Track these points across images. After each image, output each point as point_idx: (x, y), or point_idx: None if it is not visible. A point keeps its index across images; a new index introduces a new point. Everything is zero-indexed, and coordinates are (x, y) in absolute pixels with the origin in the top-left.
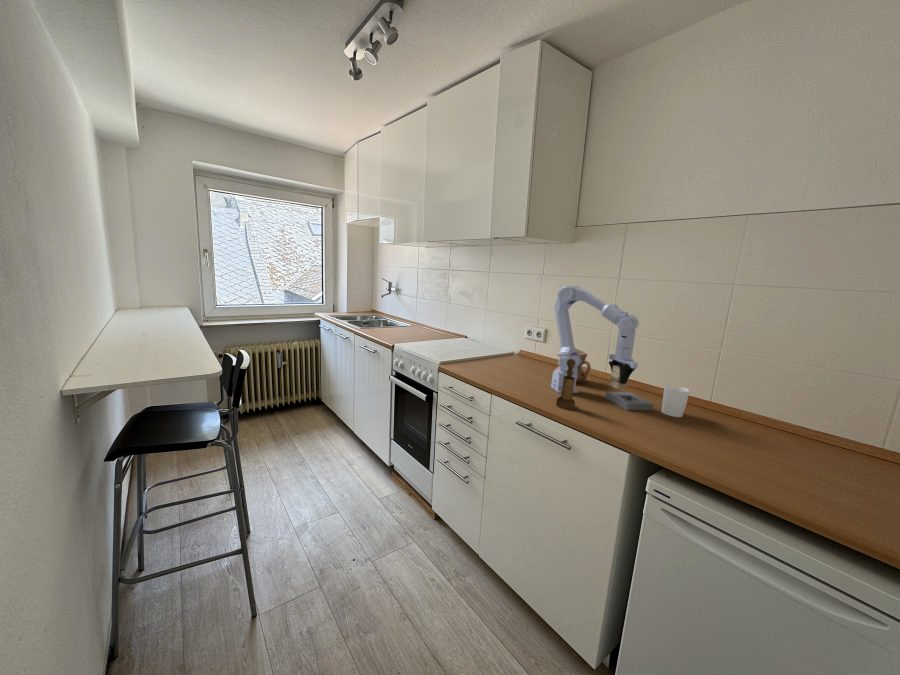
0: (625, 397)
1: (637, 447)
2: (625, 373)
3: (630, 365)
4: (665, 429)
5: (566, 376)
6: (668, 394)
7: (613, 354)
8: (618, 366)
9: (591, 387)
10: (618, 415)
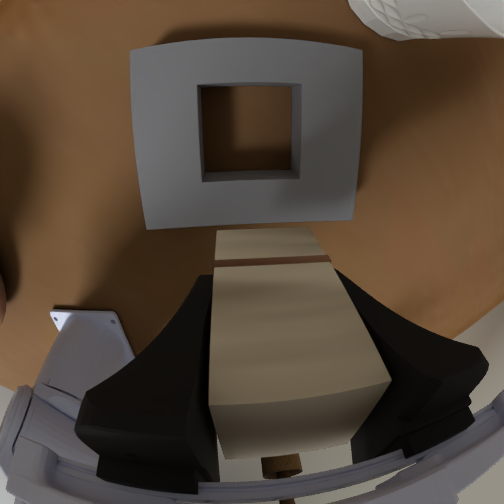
0: (199, 121)
1: (479, 318)
2: None
3: (466, 437)
4: (482, 187)
5: (265, 476)
6: (472, 36)
7: (17, 494)
8: (279, 445)
9: (16, 209)
10: (374, 277)
